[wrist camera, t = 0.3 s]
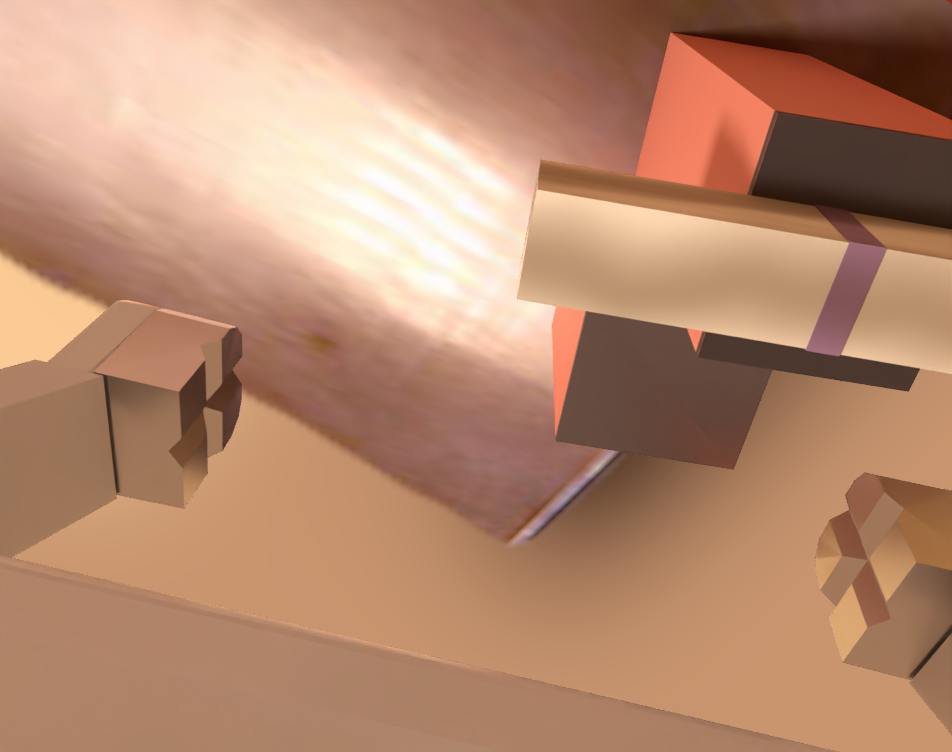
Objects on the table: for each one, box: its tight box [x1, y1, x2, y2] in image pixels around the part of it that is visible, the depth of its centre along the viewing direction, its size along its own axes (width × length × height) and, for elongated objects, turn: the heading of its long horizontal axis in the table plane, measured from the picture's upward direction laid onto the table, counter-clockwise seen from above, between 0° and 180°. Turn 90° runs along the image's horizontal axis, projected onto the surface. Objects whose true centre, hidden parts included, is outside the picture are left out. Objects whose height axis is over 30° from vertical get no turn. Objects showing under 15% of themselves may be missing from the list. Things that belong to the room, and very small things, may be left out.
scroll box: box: [517, 160, 952, 374], centre depth 28 cm, size 4×17×4 cm, turn 82°
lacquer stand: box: [552, 32, 952, 469], centre depth 44 cm, size 22×12×26 cm, turn 172°
